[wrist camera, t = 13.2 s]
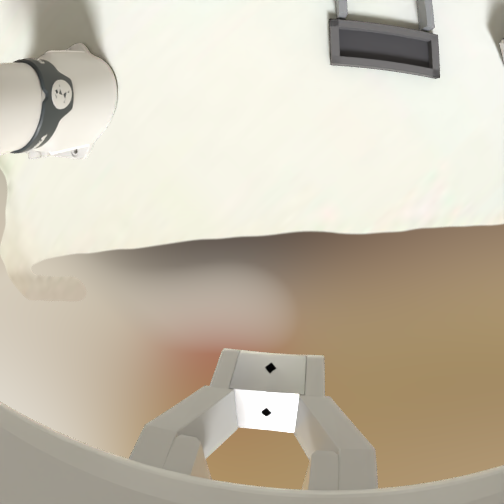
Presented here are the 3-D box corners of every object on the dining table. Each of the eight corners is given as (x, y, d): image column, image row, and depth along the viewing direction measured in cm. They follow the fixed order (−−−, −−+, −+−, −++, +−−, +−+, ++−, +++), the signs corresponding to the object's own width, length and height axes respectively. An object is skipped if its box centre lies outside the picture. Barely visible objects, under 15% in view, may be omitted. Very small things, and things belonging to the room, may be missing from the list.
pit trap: (330, 65, 34) (331, 63, 32) (329, 22, 31) (329, 18, 30) (435, 78, 32) (439, 77, 30) (433, 36, 29) (437, 34, 28)
